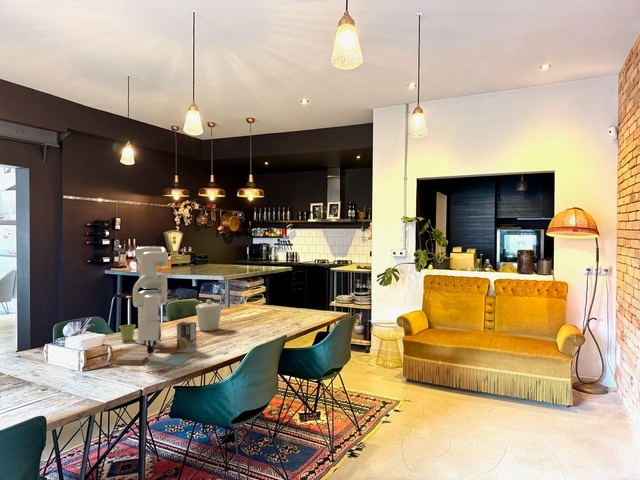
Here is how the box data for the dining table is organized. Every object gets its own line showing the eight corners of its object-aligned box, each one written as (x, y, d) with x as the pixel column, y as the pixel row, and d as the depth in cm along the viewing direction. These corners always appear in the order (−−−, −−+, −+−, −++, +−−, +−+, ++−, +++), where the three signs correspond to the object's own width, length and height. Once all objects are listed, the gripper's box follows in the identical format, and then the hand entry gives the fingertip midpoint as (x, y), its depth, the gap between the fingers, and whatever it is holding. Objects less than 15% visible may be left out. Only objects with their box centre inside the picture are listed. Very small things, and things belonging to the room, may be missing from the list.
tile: (154, 356, 235) (154, 353, 235) (170, 357, 234) (170, 353, 234) (148, 360, 228) (148, 356, 228) (164, 361, 227) (164, 357, 227)
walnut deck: (135, 353, 243) (135, 348, 243) (159, 354, 242) (159, 349, 242) (115, 363, 223) (115, 359, 223) (141, 364, 222) (141, 359, 222)
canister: (225, 327, 313) (225, 298, 313) (217, 332, 295) (217, 301, 295) (201, 326, 315) (201, 297, 314) (191, 332, 297) (191, 301, 296)
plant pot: (129, 342, 268) (129, 327, 268) (115, 341, 270) (115, 327, 270) (138, 338, 277) (138, 324, 277) (125, 337, 279) (125, 324, 279)
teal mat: (160, 354, 240) (160, 354, 240) (192, 355, 239) (192, 355, 239) (144, 364, 223) (144, 363, 223) (178, 365, 221) (178, 364, 221)
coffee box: (196, 350, 250) (197, 322, 250) (190, 353, 244) (190, 324, 244) (182, 349, 253) (183, 321, 253) (176, 352, 247) (176, 323, 246)
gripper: (133, 319, 228) (133, 354, 229) (160, 320, 227) (160, 355, 227) (140, 316, 236) (140, 350, 236) (167, 317, 234) (167, 351, 235)
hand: (150, 353), depth 232 cm, fingers closed
